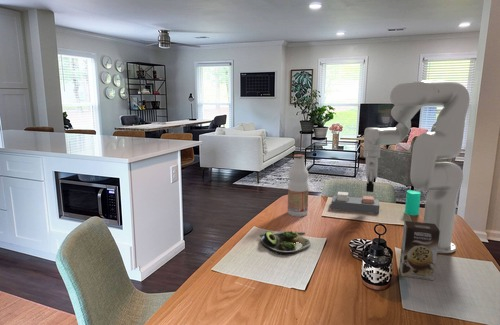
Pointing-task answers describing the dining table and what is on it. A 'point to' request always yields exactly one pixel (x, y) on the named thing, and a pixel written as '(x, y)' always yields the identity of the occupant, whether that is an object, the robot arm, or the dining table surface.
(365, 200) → the key terracotta
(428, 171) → the robot arm
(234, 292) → the dining table surface
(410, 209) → the candle
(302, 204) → the fruit juice
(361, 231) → the dining table surface
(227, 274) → the dining table surface
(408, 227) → the coffee box
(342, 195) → the key offwhite
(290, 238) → the salad plate
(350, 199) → the block
